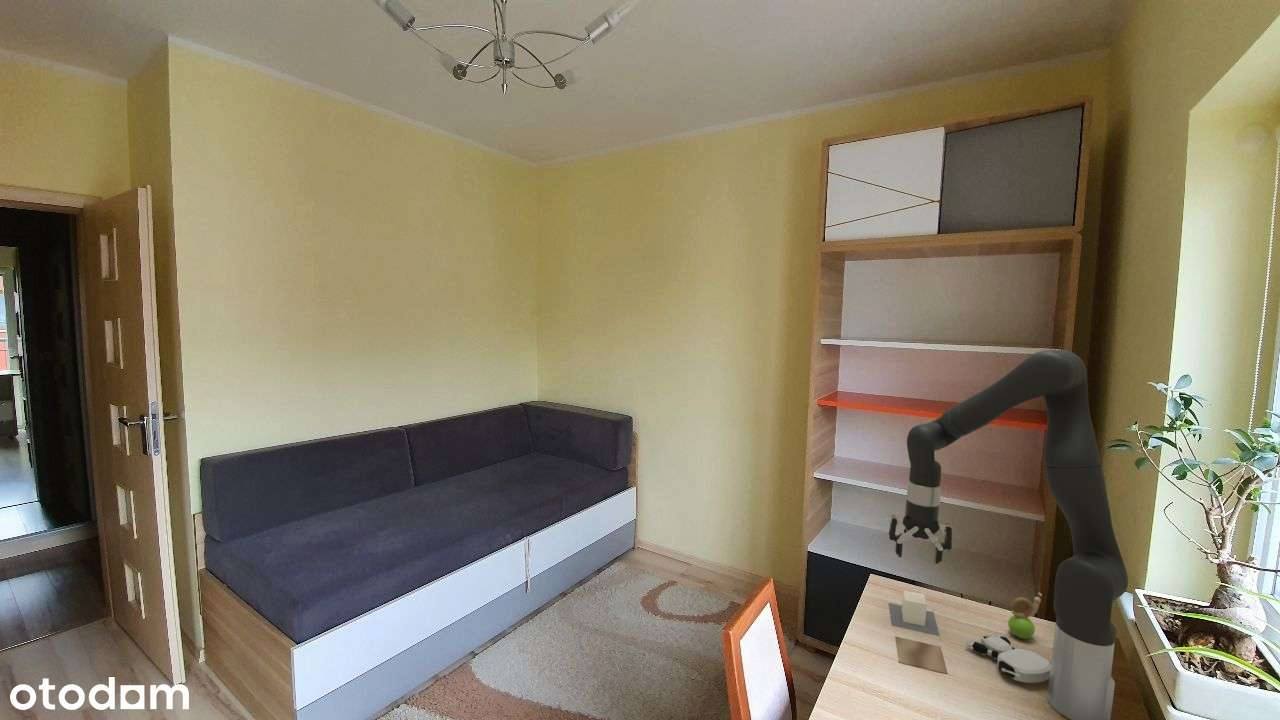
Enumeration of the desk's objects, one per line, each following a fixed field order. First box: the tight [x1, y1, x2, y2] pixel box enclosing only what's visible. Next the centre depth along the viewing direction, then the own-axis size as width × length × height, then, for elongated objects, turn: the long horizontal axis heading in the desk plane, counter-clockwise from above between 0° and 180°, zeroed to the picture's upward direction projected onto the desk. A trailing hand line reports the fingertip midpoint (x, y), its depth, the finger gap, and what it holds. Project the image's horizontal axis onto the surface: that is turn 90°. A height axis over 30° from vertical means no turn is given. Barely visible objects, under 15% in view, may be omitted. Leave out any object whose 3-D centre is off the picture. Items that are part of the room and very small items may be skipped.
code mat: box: [888, 602, 941, 637], centre depth 138 cm, size 11×11×1 cm
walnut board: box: [894, 635, 949, 676], centre depth 124 cm, size 10×10×1 cm
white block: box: [901, 590, 928, 626], centre depth 137 cm, size 5×5×6 cm
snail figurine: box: [1007, 592, 1043, 640], centre depth 131 cm, size 5×6×12 cm
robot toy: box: [965, 634, 1051, 684], centre depth 120 cm, size 12×4×15 cm
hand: (917, 559), depth 136 cm, fingers open, 8 cm apart
